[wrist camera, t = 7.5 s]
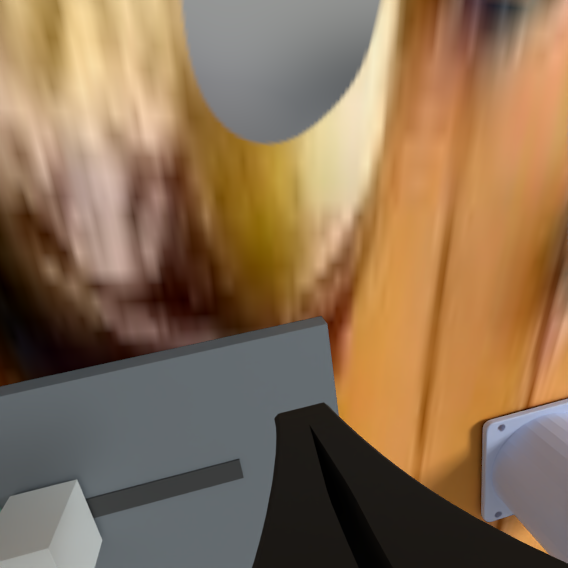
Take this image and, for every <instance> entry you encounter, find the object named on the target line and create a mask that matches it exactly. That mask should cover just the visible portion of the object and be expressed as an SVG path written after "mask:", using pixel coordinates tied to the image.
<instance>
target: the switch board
mask: <svg viewBox="0 0 568 568" xmlns="http://www.w3.org/2000/svg"><path fill="white" fill-rule="evenodd" d="M323 402H324V403H325V404H327V405H328V406H329V407H330V408H331V409H332V410H333V411H334V412H335V413H336V414H337V415H338V416H339V414H338V406H337V398H336V390H335V382H334V375H333V367H332V359H331V351H330V343H329V335H328V327H327V323H326V322H325V320H324V319H323V318H322V316H320V317H316V318H311V319H306V320H302V321H297V322H293V323H288V324H284V325H279V326H275V327H270V328H265V329H261V330H256V331H252V332H247V333H243V334H238V335H234V336H229V337H224V338H220V339H215V340H211V341H206V342H202V343H197V344H192V345H188V346H183V347H179V348H174V349H170V350H165V351H161V352H156V353H151V354H147V355H142V356H138V357H133V358H129V359H124V360H120V361H115V362H110V363H106V364H101V365H97V366H92V367H88V368H83V369H79V370H74V371H69V372H65V373H60V374H56V375H51V376H47V377H42V378H38V379H33V380H28V381H24V382H19V383H15V384H10V385H6V386H1V387H0V512H1V510H2V509H3V507H4V505H5V504H6V502H7V500H8V499H9V497H10V496H13V495H17V494H21V493H25V492H29V491H33V490H37V489H41V488H45V487H49V486H53V485H56V484H60V483H64V482H68V481H72V480H76V479H77V480H78V483H79V485H80V487H81V490H82V492H83V495H84V497H85V499H86V502H87V504H88V507H89V509H90V512H91V514H92V516H93V519H94V521H95V524H96V526H97V528H98V531H99V533H100V536H101V538H102V543H101V547H100V551H99V554H98V558H97V561H96V565H95V568H252V566H253V563H254V559H255V556H256V552H257V549H258V545H259V541H260V538H261V534H262V530H263V525H264V521H265V517H266V512H267V507H268V502H269V497H270V491H271V486H272V480H273V472H274V463H275V455H276V425H275V420H274V418H275V417H276V416H277V414H279V413H283V412H287V411H291V410H295V409H299V408H303V407H307V406H311V405H315V404H319V403H323Z"/></svg>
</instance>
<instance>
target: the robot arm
mask: <svg viewBox="0 0 568 568" xmlns="http://www.w3.org/2000/svg"><path fill="white" fill-rule="evenodd" d="M274 420H275V425H276V455H275V463H274V472H273V480H272V486H271V491H270V497H269V502H268V507H267V512H266V517H265V521H264V525H263V530H262V534H261V538H260V541H259V545H258V549H257V552H256V556H255V559H254V563H253V566H252V568H568V399H565V400H561V401H557V402H554V403H550V404H546V405H543V406H539V407H535V408H532V409H528V410H524V411H520V412H517V413H513V414H509V415H506V416H502V417H498V418H495V419H491V420H488V421H487V422H485V424H484V425H483V441H482V495H481V516H482V517H483V519H484V520H485V521H487V522H492V521H495V520H498V519H501V518H505V517H508V516H511V515H515V516H516V517H517V518H518V519H519V521H520V522H521V523H522V524H523V525H524V526H525V527H526V529H527V530H528V531H529V532H530V533H531V534H532V535H533V537H534V538H535V539H536V540H537V541H538V542H539V543H540V545H541V546H542V547H543V548H544V549H545V550H546V551H547V553H548V554H549V555H548V554H546V553H544V552H542V551H540V550H538V549H535V548H533V547H531V546H529V545H527V544H525V543H523V542H521V541H519V540H517V539H515V538H513V537H511V536H510V535H508V534H506V533H504V532H502V531H500V530H498V529H496V528H494V527H493V526H491V525H489V524H487V523H485V522H483V521H481V520H479V519H477V518H475V517H474V516H472V515H470V514H469V513H467V512H465V511H463V510H462V509H460V508H458V507H457V506H455V505H453V504H452V503H450V502H449V501H447V500H445V499H444V498H442V497H441V496H439V495H438V494H436V493H434V492H433V491H431V490H430V489H428V488H427V487H425V486H424V485H422V484H421V483H419V482H418V481H417V480H415V479H414V478H412V477H411V476H410V475H408V474H407V473H406V472H404V471H403V470H401V469H400V468H399V467H397V466H396V465H395V464H393V463H392V462H391V461H390V460H388V459H387V458H386V457H384V456H383V455H382V454H381V453H380V452H378V451H377V450H376V449H375V448H374V447H372V446H371V445H370V444H369V443H368V442H366V441H365V440H364V439H363V438H362V437H361V436H359V435H358V434H357V433H356V432H355V431H354V430H353V429H352V428H351V427H350V426H348V425H347V424H346V423H345V422H344V421H343V420H342V419H341V418H340V417H339V416H338V415H337V414H336V413H335V412H334V411H333V410H332V409H331V408H330V407H329V406H328V405H327V404H325V403H324V402H323V403H319V404H315V405H311V406H307V407H303V408H299V409H295V410H291V411H287V412H283V413H279V414H277V416H276V417H275V418H274Z"/></svg>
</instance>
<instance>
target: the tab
mask: <svg viewBox="0 0 568 568" xmlns="http://www.w3.org/2000/svg"><path fill="white" fill-rule="evenodd" d="M101 543H102V538H101V536H100V533H99V531H98V528H97V526H96V524H95V521H94V519H93V516H92V514H91V512H90V509H89V507H88V504H87V502H86V499H85V497H84V495H83V492H82V490H81V487H80V485H79V483H78V480H77V479H76V480H72V481H68V482H64V483H60V484H56V485H53V486H49V487H45V488H41V489H37V490H33V491H29V492H25V493H21V494H17V495H13V496H10V497H9V499H8V500H7V502H6V504H5V505H4V507H3V509H2V510H1V512H0V568H95V565H96V561H97V558H98V554H99V551H100V547H101Z"/></svg>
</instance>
